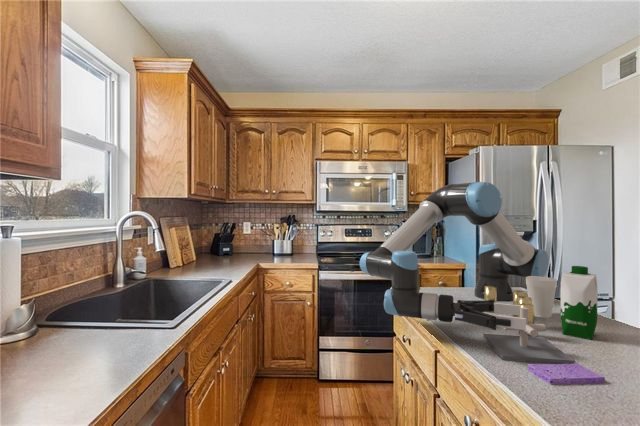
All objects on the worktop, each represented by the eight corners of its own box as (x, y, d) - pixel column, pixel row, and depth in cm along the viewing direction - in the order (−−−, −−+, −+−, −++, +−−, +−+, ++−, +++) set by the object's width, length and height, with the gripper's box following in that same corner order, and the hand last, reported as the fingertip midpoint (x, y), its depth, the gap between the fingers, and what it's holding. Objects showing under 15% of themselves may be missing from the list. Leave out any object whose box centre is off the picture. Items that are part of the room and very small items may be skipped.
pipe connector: (533, 339, 97) (534, 303, 97) (554, 354, 87) (555, 314, 87) (496, 338, 98) (496, 302, 98) (512, 352, 88) (512, 313, 88)
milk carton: (598, 334, 105) (598, 267, 105) (595, 342, 98) (595, 271, 98) (563, 327, 111) (563, 264, 111) (558, 334, 104) (558, 267, 104)
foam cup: (557, 320, 118) (557, 282, 118) (525, 316, 123) (525, 279, 123) (555, 313, 126) (556, 277, 126) (526, 309, 131) (526, 275, 131)
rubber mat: (543, 340, 99) (543, 337, 99) (574, 364, 83) (574, 360, 83) (483, 337, 102) (483, 333, 102) (502, 359, 86) (502, 355, 86)
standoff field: (516, 311, 129) (516, 286, 129) (556, 339, 100) (556, 308, 100) (483, 309, 131) (483, 285, 131) (512, 336, 102) (512, 305, 102)
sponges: (527, 371, 81) (527, 363, 81) (578, 370, 82) (578, 362, 82) (549, 387, 74) (549, 378, 74) (605, 385, 75) (605, 376, 75)
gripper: (442, 309, 113) (517, 318, 104) (433, 333, 90) (528, 347, 81) (442, 286, 113) (517, 293, 104) (433, 304, 90) (528, 315, 81)
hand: (522, 316), depth 92 cm, fingers open, 13 cm apart
